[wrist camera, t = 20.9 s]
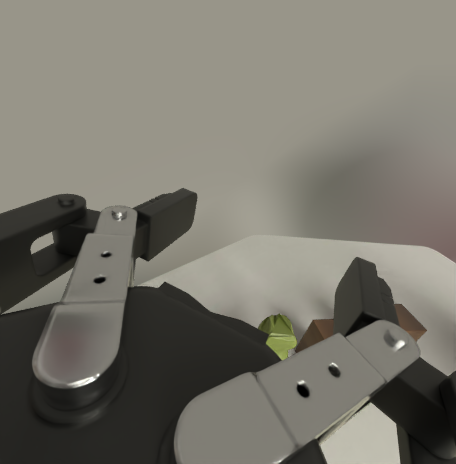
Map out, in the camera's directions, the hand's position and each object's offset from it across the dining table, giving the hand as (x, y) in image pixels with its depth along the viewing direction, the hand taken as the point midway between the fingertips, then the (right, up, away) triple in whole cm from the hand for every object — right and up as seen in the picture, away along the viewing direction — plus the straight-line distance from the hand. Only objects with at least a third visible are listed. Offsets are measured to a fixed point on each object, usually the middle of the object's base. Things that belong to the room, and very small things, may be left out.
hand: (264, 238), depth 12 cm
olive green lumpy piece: (+2, -19, +22) cm, 29 cm away
